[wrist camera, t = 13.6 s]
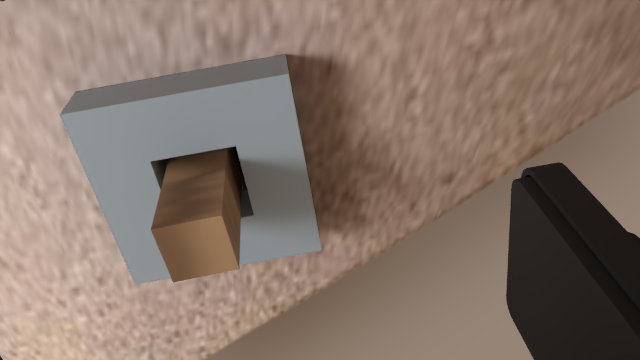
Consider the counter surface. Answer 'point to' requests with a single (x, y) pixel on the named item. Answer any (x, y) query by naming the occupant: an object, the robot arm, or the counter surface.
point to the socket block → (194, 137)
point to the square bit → (199, 214)
